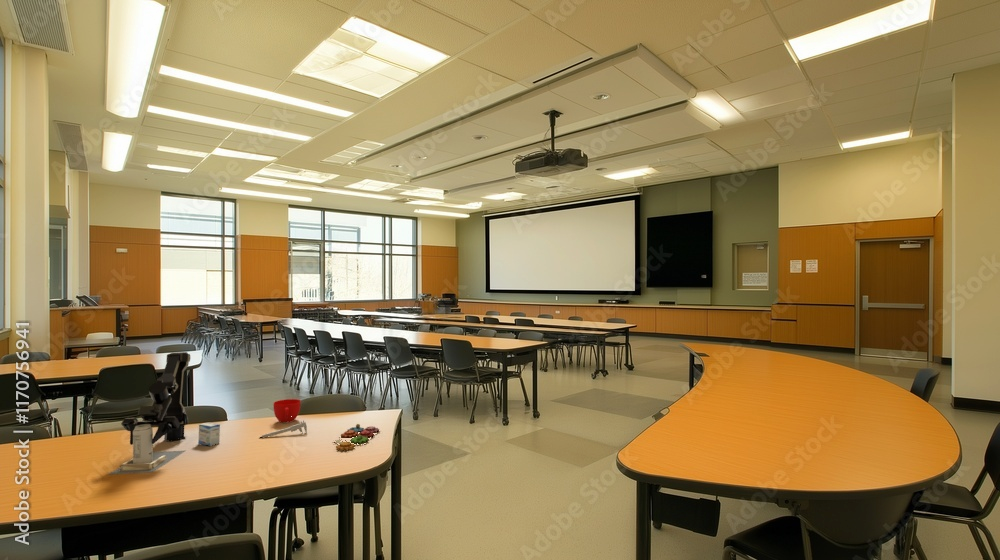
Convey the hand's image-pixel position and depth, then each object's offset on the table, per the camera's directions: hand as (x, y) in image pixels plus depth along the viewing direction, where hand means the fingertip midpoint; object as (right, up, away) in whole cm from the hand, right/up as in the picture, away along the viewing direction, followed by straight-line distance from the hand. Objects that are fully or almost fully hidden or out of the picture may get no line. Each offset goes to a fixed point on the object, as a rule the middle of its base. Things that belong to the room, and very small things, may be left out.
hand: (141, 443), depth 177 cm
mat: (-1, -9, +5) cm, 10 cm away
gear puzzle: (+70, -11, +33) cm, 79 cm away
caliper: (+35, -11, +40) cm, 54 cm away
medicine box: (+8, -10, +28) cm, 30 cm away
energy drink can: (0, -9, +1) cm, 9 cm away
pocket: (0, -9, +1) cm, 9 cm away
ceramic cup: (+27, -11, +62) cm, 69 cm away
